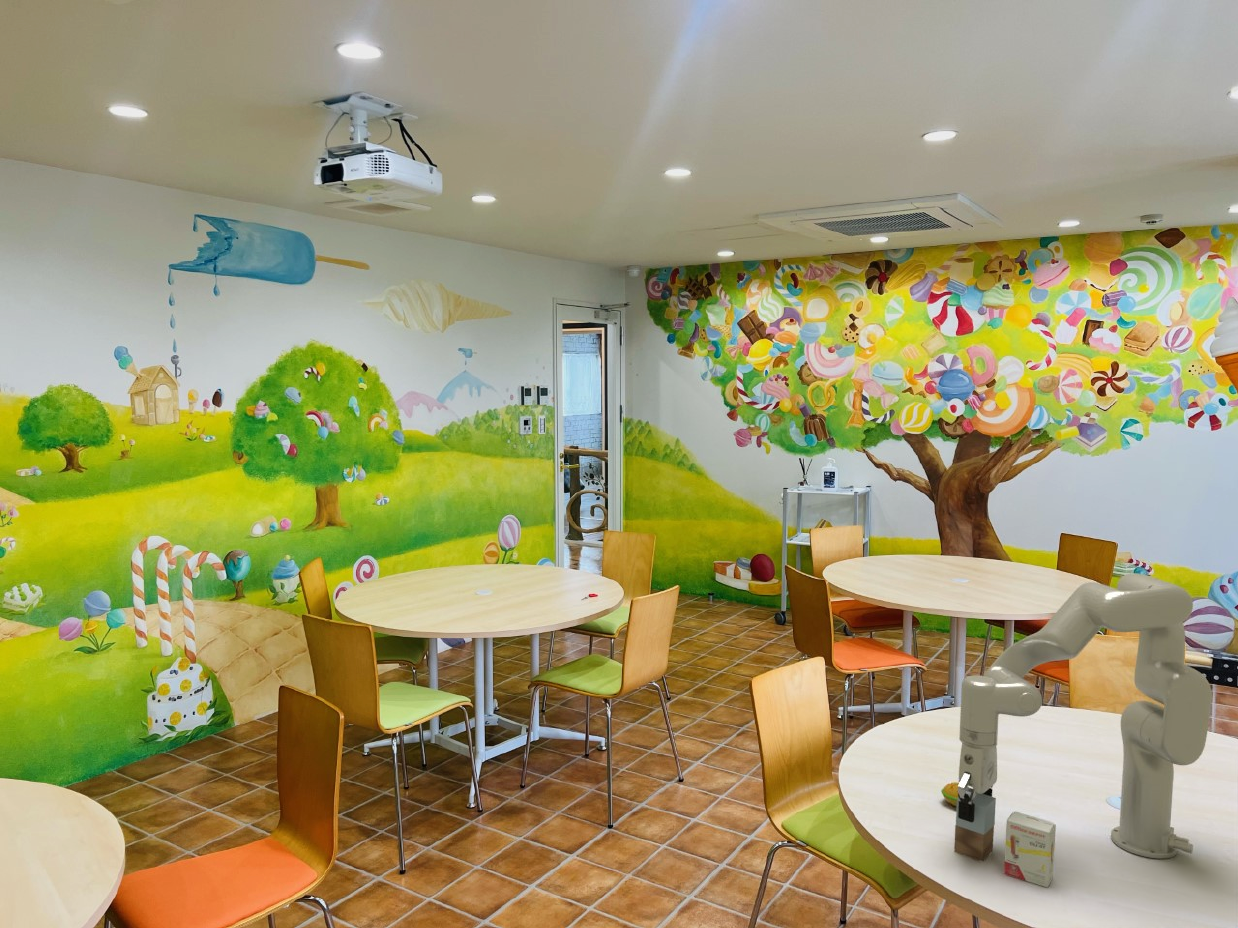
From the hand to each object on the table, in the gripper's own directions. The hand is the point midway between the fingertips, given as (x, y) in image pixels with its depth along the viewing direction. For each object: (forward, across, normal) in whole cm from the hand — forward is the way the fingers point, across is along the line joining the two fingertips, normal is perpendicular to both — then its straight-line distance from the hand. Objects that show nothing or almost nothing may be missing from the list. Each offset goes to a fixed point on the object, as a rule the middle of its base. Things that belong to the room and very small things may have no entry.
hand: (975, 811), depth 192 cm
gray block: (+3, 0, 0) cm, 3 cm away
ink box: (+9, -2, -12) cm, 15 cm away
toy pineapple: (+9, +19, +10) cm, 23 cm away
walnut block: (+9, 0, 0) cm, 9 cm away
